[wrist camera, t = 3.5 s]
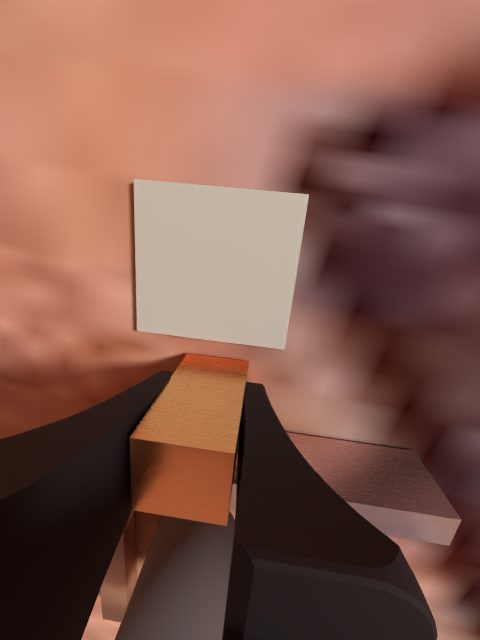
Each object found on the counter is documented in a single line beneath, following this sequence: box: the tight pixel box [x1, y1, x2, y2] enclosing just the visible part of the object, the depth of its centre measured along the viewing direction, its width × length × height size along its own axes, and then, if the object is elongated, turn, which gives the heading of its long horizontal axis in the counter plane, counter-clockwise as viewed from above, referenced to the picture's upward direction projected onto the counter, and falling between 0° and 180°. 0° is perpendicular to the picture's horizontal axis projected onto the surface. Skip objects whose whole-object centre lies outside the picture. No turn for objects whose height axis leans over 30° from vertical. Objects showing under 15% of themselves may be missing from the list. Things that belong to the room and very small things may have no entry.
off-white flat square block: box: [134, 179, 309, 350], centre depth 10 cm, size 6×6×1 cm
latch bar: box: [130, 353, 461, 546], centre depth 9 cm, size 4×10×5 cm, turn 84°
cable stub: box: [115, 512, 235, 640], centre depth 12 cm, size 4×4×6 cm
